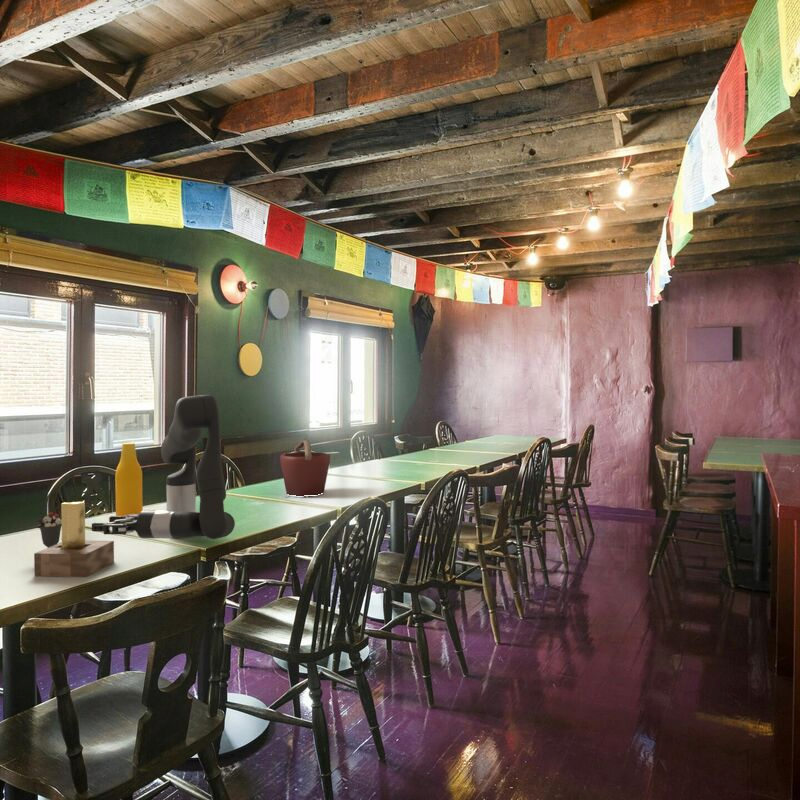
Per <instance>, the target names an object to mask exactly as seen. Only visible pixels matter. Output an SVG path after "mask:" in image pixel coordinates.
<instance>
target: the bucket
mask: <svg viewBox="0 0 800 800" xmlns="http://www.w3.org/2000/svg"><path fill="white" fill-rule="evenodd" d="M303 447H304V451H301V448H303ZM279 459H280V461H279V463H280V467H281V471H282V477H283V482H284V483H283V484H284V487H285V492H286V495H287V494H289V495H296V496H304V495H318V494H321V493H325V488H326V483H327V477H328V472H329V467H330V464H331V454H330V453H325V452H320V451H318V452H317V451H316V452H315V451H312V446H311V442H310V440H308V439H304V440H301V441H300V442H299V443H298V444H297V445H296V446H295V447H294V452H288V453H287V452H285V453H282V454H281V455H280V458H279Z"/></svg>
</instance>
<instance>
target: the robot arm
mask: <svg viewBox="0 0 800 800" xmlns="http://www.w3.org/2000/svg"><path fill="white" fill-rule="evenodd" d="M175 403H176V404H175V407H174V415H173V420H172V423H171V425H170V427H169V428H168V433H167V435H166V436H165V438H164V439H163V441H162V443H161V447H160V448H161V449H160V454H161V458H162V460H163V462H164V463H165V464H168V465H177V464H178V465H181V464H183V465H184V467H182V468H181V469H180V470H178V471H176V472H174V473H171V474H169V475H168V476H167V477H166V484H165V485H166V487H165V488H166V509H165V510H164V509H156V510H155V509H143V511H142V512H140V514H129V515H124V517H123V516H116V515H111V516H109V517H108V522H93V523H91V532H103V535H105V536H106V535H126V534H130V533H134V532H136V533H137V537H139V538H140V539H177V538H179V539H181V538H184V539H188V538H194V537H206V538H208V539H211V540H216V539H222V538H225V537H228V536H229V535H230V534H231V533H232V532H233V530H234V529H235V526H236V523H235V522H236V521H235V518H234V517H233V516H232V514H230V513H229V512H227V511H225V507H224V506H225V504H224V501H225V500H226V498H227V490H226V483H225V478H224V472H223V466H222V465H223V463H222V443H221V441H222V440H221V426H220V411H219V405H218V403H217V400H216V398H215V397H214V395H211V394H201V395H200V394H199V395H191V396H184V397H181V398H179V399H178V400H177V402H175ZM203 429H207V443H206V446H205V449H204V450H203V454H202V455H201V457H200V459H199V463H198V465H196V462H197V460H196V459H197V444H198V442H199V441H200V439H201V436H202V432H203ZM196 466H197V468H196ZM196 484H197V490H198V496H199V512H198V511H197V507H196V506H197V505H196V504H197V503H196V502H197V498H196V497H197V496H196V495H197V491H196Z"/></svg>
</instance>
